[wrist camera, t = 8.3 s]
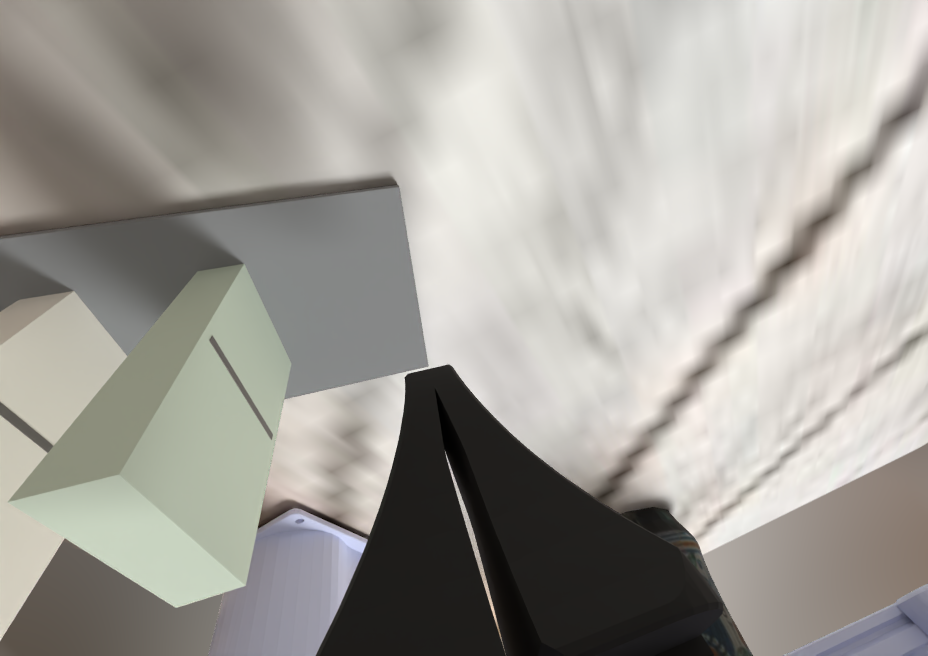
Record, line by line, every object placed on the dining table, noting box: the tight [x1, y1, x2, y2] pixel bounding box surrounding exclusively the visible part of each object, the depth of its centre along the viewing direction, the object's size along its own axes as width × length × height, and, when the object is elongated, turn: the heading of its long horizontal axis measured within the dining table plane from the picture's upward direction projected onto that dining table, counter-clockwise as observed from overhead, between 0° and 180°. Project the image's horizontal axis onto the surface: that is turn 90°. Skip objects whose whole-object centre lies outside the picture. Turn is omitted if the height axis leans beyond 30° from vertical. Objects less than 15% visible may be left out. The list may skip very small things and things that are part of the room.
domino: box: [0, 291, 127, 640], centre depth 10 cm, size 2×5×9 cm, turn 4°
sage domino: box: [8, 264, 291, 608], centre depth 11 cm, size 2×5×9 cm, turn 4°
